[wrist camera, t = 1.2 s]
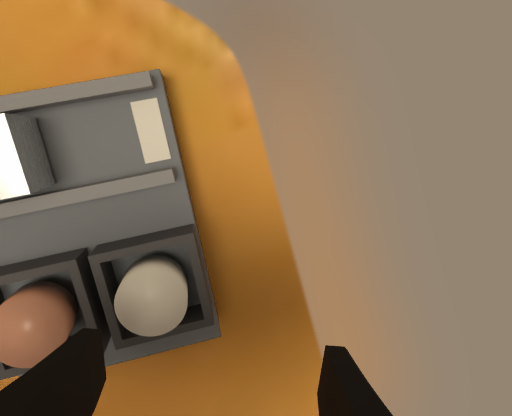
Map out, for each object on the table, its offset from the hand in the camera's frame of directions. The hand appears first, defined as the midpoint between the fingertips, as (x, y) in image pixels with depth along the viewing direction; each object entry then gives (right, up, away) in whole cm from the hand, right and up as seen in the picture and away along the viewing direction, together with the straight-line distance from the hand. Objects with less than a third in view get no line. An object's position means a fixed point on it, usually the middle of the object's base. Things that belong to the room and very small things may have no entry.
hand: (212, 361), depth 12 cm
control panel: (-7, +4, +8) cm, 11 cm away
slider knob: (-9, +7, +4) cm, 12 cm away
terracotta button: (-8, 0, +5) cm, 10 cm away
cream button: (-3, +1, +6) cm, 7 cm away
